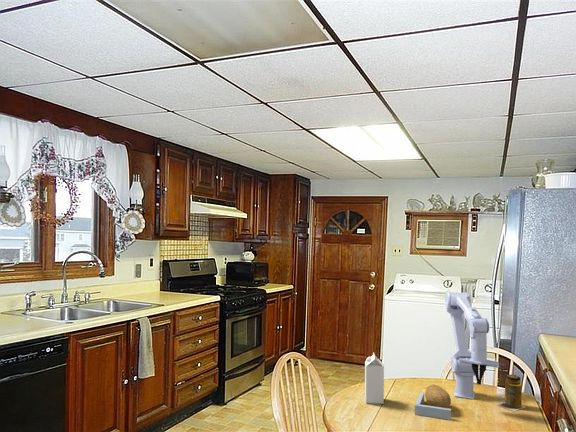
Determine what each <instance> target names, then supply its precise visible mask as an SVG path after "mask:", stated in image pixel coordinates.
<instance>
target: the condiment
mask: <svg viewBox="0 0 576 432" xmlns="http://www.w3.org/2000/svg"><path fill="white" fill-rule="evenodd" d="M522 399H523V398H522V382H521V376H519V375H516V374H506V375H505V382H504V403H500V404H497V406H499V407H500V408H503V409H507V410H510V411H512V412H517V411H519V410H522V409H526V406H524V405H523V404H522V403H523V402H522Z"/></svg>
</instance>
